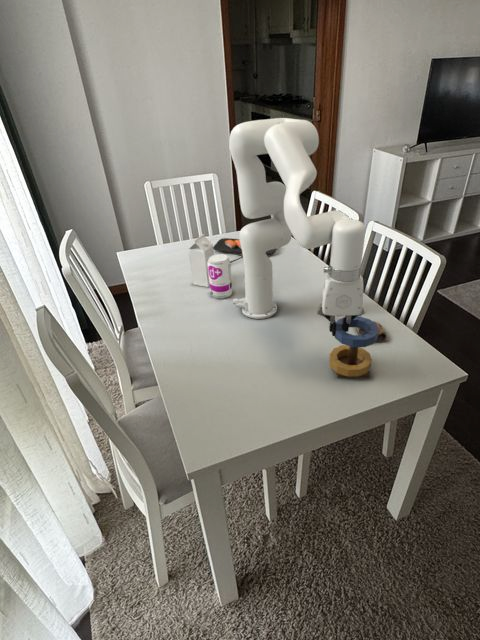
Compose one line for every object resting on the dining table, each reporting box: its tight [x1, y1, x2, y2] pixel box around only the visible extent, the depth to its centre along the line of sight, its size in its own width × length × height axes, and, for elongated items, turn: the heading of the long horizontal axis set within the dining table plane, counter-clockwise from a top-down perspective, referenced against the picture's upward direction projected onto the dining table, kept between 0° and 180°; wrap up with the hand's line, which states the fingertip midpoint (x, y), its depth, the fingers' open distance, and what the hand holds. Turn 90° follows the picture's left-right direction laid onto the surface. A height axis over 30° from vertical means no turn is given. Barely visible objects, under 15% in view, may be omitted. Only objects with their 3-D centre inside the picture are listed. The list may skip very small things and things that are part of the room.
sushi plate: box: [213, 237, 277, 264], centre depth 185 cm, size 29×30×4 cm
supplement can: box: [207, 253, 233, 299], centre depth 153 cm, size 8×8×15 cm
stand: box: [335, 346, 371, 379], centre depth 116 cm, size 9×9×10 cm
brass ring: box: [328, 344, 373, 377], centre depth 118 cm, size 12×12×2 cm
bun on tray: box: [355, 320, 389, 344], centre depth 132 cm, size 11×8×4 cm
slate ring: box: [334, 315, 379, 348], centre depth 111 cm, size 12×12×2 cm
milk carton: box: [187, 233, 215, 288], centre depth 160 cm, size 7×7×19 cm
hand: (338, 332), depth 112 cm, fingers closed on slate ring, 2 cm apart
